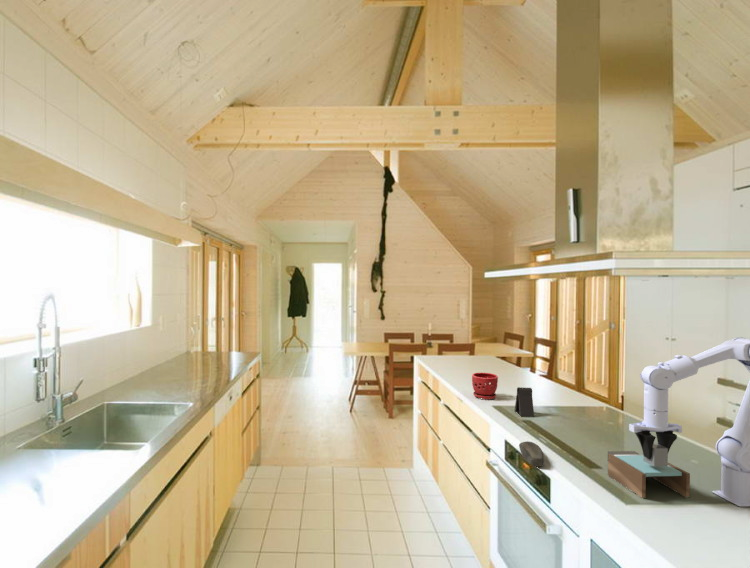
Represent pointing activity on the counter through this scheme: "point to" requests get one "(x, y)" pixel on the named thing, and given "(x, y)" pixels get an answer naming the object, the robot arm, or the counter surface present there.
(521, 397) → the phone stand
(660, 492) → the counter surface
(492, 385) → the plant pot
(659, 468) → the trapdoor flap
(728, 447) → the robot arm
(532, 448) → the decorative stone
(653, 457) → the slate block
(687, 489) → the stand
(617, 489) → the counter surface
